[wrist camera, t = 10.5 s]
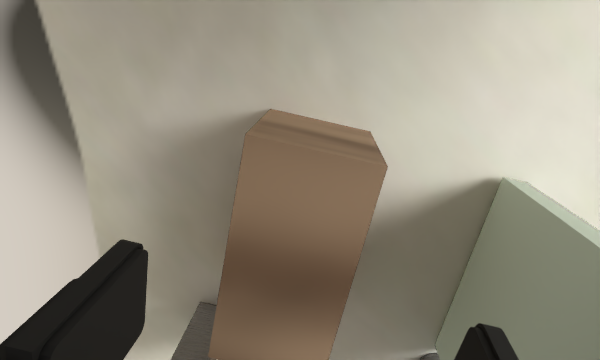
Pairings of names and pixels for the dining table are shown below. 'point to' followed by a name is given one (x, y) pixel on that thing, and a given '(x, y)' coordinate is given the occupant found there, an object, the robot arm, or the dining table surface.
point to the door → (530, 280)
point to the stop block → (294, 237)
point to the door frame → (197, 336)
